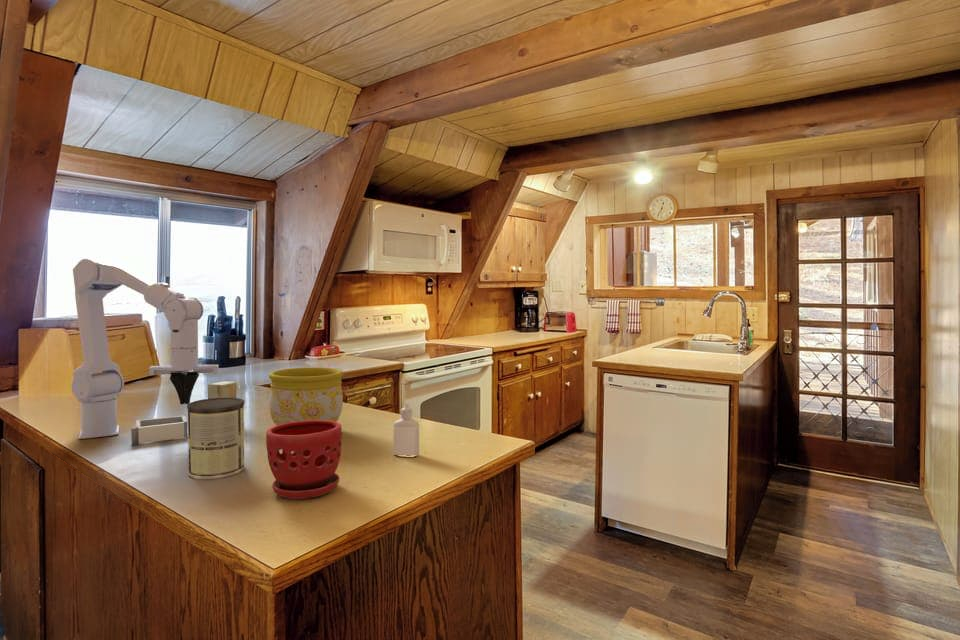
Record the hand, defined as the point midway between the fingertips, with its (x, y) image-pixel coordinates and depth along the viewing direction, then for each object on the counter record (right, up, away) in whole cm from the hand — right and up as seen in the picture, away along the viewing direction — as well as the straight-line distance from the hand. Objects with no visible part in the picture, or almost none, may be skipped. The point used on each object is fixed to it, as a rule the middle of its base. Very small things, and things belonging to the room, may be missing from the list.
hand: (185, 403), depth 125 cm
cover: (-6, -9, 0) cm, 11 cm away
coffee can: (+18, -11, -21) cm, 30 cm away
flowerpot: (+27, -10, +7) cm, 30 cm away
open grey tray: (-8, -9, +4) cm, 13 cm away
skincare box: (+3, -9, +13) cm, 16 cm away
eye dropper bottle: (+55, -11, -9) cm, 57 cm away
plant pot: (+40, -11, -30) cm, 51 cm away
